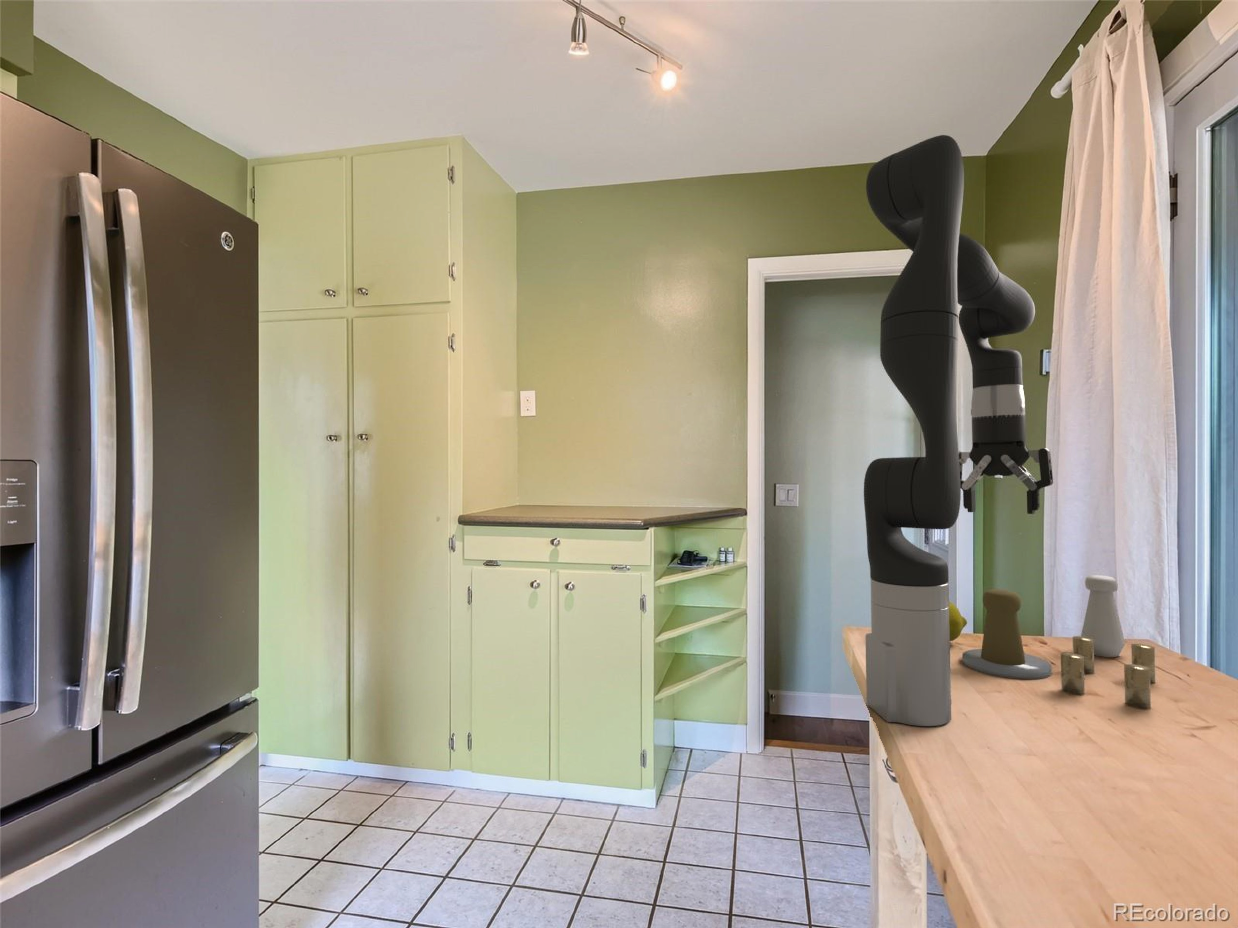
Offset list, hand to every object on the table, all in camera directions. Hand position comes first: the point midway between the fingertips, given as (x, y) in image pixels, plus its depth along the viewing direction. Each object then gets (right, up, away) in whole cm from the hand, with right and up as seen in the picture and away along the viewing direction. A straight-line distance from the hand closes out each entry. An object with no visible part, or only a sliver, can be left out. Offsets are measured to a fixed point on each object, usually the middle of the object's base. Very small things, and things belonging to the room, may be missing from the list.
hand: (1000, 512), depth 101 cm
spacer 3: (+14, -24, -11) cm, 30 cm away
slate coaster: (-1, -24, -4) cm, 24 cm away
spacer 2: (+9, -24, -6) cm, 26 cm away
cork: (-2, -23, -3) cm, 24 cm away
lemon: (-6, -25, +10) cm, 27 cm away
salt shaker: (+18, -24, +2) cm, 30 cm away
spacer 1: (+1, -24, -15) cm, 28 cm away
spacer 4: (+6, -24, -20) cm, 32 cm away
